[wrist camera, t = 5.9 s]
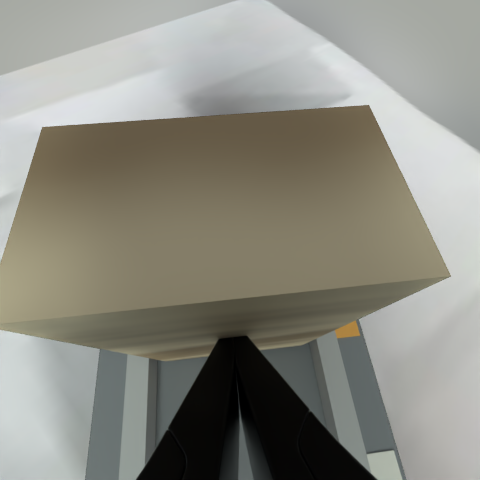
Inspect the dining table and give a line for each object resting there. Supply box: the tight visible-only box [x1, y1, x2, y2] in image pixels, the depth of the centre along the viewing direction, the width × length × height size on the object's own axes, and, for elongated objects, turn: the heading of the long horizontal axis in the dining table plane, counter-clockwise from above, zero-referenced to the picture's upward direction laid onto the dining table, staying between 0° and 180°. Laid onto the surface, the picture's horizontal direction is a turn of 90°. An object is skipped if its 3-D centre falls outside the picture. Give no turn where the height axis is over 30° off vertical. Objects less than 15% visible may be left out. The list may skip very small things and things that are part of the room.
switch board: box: [85, 319, 406, 480], centre depth 13 cm, size 22×14×3 cm, turn 6°
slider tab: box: [0, 105, 451, 361], centre depth 10 cm, size 4×7×11 cm, turn 96°
